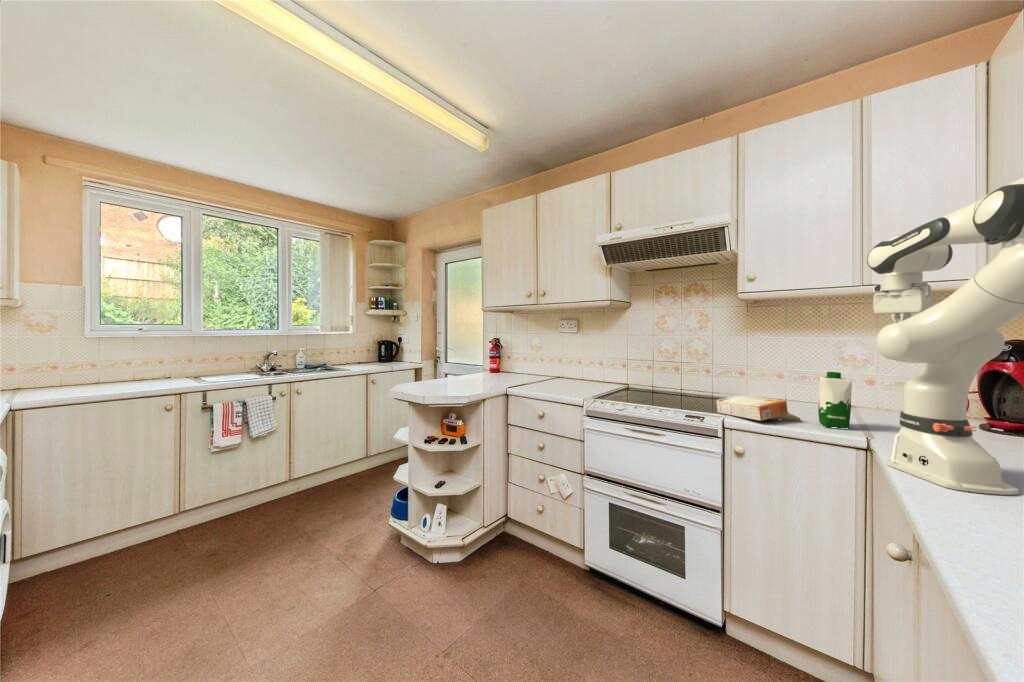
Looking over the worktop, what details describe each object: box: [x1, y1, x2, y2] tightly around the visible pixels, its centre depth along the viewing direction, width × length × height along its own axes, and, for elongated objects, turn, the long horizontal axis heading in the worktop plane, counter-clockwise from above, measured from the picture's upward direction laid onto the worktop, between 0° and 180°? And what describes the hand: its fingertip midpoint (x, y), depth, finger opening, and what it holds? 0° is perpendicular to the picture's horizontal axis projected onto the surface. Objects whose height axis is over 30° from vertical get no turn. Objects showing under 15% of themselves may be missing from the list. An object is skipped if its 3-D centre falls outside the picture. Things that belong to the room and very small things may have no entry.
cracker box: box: [715, 394, 789, 422], centre depth 153 cm, size 14×6×21 cm
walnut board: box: [771, 412, 801, 421], centre depth 158 cm, size 20×16×1 cm
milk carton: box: [817, 371, 853, 430], centre depth 138 cm, size 9×9×20 cm
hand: (900, 327), depth 124 cm, fingers closed
